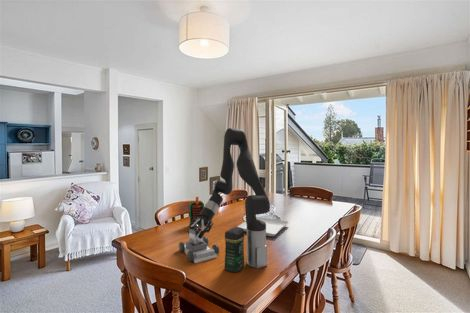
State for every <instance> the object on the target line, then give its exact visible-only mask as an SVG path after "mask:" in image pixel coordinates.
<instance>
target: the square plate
mask: <svg viewBox="0 0 470 313" xmlns="http://www.w3.org/2000/svg"><path fill="white" fill-rule="evenodd" d="M256 219H258V220H262V221H264V222H265V223H266V237H267V236H268V237H274V236H276V235H277V234H278V233H279V232H280V231H281V230H282V229H284V228H285V227H286V226H287V225H288V224H289V223H290V222H289V221H287V220H280V219H275V218H270V217H263V216H256ZM237 227H240V228H243V230H244V232H246V233H247V224H246V221H244V222H242V223H240V224H239V225H237Z"/></svg>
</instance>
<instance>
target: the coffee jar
mask: <svg viewBox="0 0 470 313" xmlns="http://www.w3.org/2000/svg"><path fill="white" fill-rule="evenodd" d="M224 241H225V243H224V244H225V248H224V249H225V251H224V253H225V254H224V269H225V271H228V272H231V273H237V272H239V271H241V270H242V269H243V268H244V267H245V252H244V248H245V247H244V243H245V231H244V230H243V228H240V227H238V226H234V227H231V228H229V229H228V230H226V231H224Z"/></svg>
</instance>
